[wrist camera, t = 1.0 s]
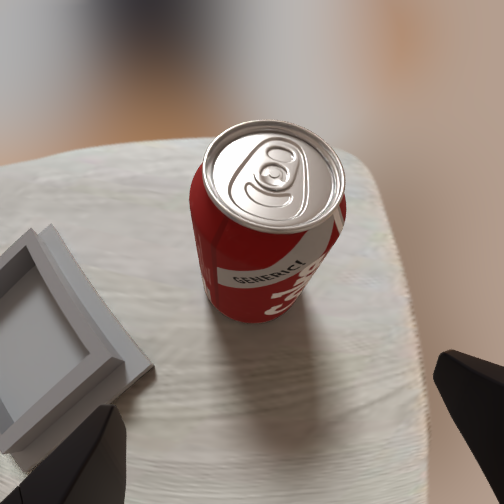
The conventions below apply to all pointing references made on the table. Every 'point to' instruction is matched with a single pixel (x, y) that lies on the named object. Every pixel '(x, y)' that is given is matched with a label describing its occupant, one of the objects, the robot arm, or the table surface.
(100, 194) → the table surface
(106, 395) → the square gray tray
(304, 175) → the soda can
